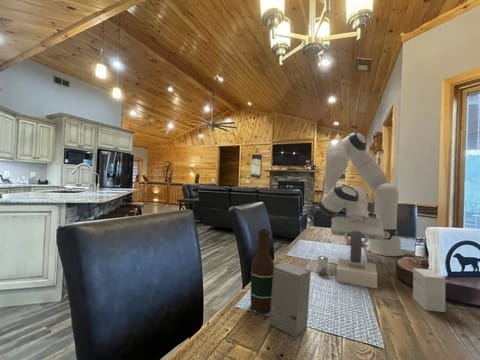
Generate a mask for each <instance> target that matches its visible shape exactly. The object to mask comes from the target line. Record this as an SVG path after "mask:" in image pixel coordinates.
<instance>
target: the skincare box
mask: <svg viewBox="0 0 480 360" xmlns="http://www.w3.org/2000/svg"><path fill="white" fill-rule="evenodd" d="M311 273H312V271H311V270H309V269H307V268H304V267H301V266H299V265H295V264H291V263H289V262H283V263H280V264H277V265H274V270H273V283H272V296H271V308H270V312H269V325H270V326H272V327H274V328H276V329H278V330H279V331H282V332H285V333H286V334H288V335H290V336H292V337H294V338H297V337H298V336H299V335H300V334H301V333H302V332H303V331H305V330H306V329H307V328H308V319H309V318H308V316H309V314H308V313H309V301H310V300H309V299H310V289H311V288H310V284H311V276H312V275H311Z"/></svg>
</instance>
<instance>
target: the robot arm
mask: <svg viewBox="0 0 480 360" xmlns="http://www.w3.org/2000/svg"><path fill="white" fill-rule="evenodd" d="M366 147H367V140H366V138H365V136H364V135H363V134H362V133H360V132H358V131H354V132H352V133H350V134H348V135H347V136H346V137H344V138H343V139H332V140H331V141H329V142H328V144H327V146H326V151H325V169H324V174H323V175H324V176H323V182H322V194H321V198H320V200H319V202H318V208H319V210H320V212H321V213H322V214H324V215H326V216H328V217H331V228H330V233H331V235H333V236H341V237H344V239H345V241H346V245H347V246H351V231H359V232H362V239H364V240H362V243H361V248H362V247H364V248H365V251H367V252H371V253H373V254H375V255H380V256H387V257H398V256H405V254H406V253H404V252H403V251H402V248H401V247H402V246H401V245H402V244H401V243H402V242H401V239H400V238H399V237H398V232H399V231H398V228H397V227H398V226H397V224H398V221H397V220H398V217H397V216H398V207H399V194H400V193H399V189H398V188H397V187H396V186H395V185H394V184H392V182H391V181H390V179H389V178H388V176H387V175H386V174H385V172H384V170H383V169H382V168H381V166H380V165H379V163H378V162H377V161H376V159H375V158H374V157H373V156H372V154H371V152H370V151H368V150H367V148H366ZM349 161H351V163H352V166H354V168H355V170H356V172H357V173H358V174H359V176H360V177H361V178H362V180H363V181H364V183H365V184H366V186H367V187H368V188H369V190H370V192H371V193H372V194H373V196H374V206H373V209H374V211H373V212H370V211H369V210H368V207H369V197H368V194H367V192H366V190H365V189H364V188H363V187H361V186H350V185H347V184H344V183H338V181H339V179H340V178H341V177H342V176H343V174H344V173H345V172H346V170H347V168H348V166H349ZM343 209H346V212H345V216H344V215H343V216H342V215H341V216H340V215H339V216H338V214H339V212H340V211H342V210H343ZM368 242H369V243H368ZM367 243H368V246H366V244H367Z"/></svg>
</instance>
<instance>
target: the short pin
mask: <svg viewBox="0 0 480 360" xmlns="http://www.w3.org/2000/svg"><path fill="white" fill-rule="evenodd" d="M328 260H329V258H328V256H325V255H318V256H317V275H320V276H328V266H329V265H328V262H329V261H328Z"/></svg>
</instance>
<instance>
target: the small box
mask: <svg viewBox="0 0 480 360" xmlns="http://www.w3.org/2000/svg"><path fill="white" fill-rule="evenodd" d="M412 270H413V271H412V273H413V274H412V276H413V277H412V279H413V280H412V299H413V300H414V301H415V302H416V303H417V304H418V305H419V306H420V307H421V308H423V310H424V311H426V312H427V311H428V312H437V313H440V312H441V313H446V277H444V276H442V275H441V274H439V273H438V272H436V271H434V270H433V269H428V268H427V269H425V268H412Z"/></svg>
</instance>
